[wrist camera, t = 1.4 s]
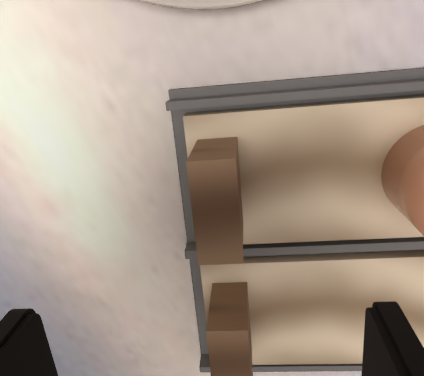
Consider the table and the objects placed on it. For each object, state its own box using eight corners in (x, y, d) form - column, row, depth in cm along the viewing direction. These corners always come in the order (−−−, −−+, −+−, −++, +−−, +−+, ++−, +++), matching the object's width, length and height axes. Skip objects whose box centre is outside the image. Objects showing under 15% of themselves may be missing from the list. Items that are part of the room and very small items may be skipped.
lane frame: (506, 357, 30) (521, 375, 28) (203, 360, 33) (200, 378, 31) (569, 55, 23) (596, 55, 21) (169, 89, 25) (164, 92, 23)
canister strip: (527, 223, 25) (611, 275, 20) (199, 238, 28) (188, 288, 22) (556, 84, 22) (665, 96, 17) (185, 113, 25) (167, 133, 19)
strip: (501, 349, 29) (566, 425, 23) (212, 353, 31) (205, 423, 25) (523, 243, 26) (604, 300, 20) (201, 256, 28) (190, 310, 22)
